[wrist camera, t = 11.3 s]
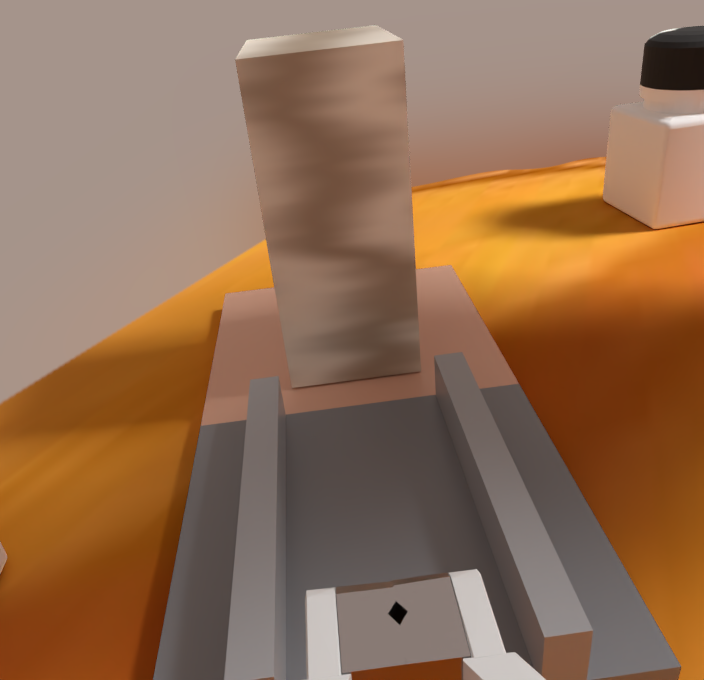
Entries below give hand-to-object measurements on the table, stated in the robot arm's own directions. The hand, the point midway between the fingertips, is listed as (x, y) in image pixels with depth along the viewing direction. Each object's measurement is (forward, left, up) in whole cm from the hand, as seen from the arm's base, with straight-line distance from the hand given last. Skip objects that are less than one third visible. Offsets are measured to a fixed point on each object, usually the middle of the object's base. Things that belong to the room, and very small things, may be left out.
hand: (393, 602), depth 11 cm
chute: (0, -16, -8) cm, 18 cm away
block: (0, -22, -7) cm, 23 cm away
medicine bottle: (-25, -37, -8) cm, 45 cm away
